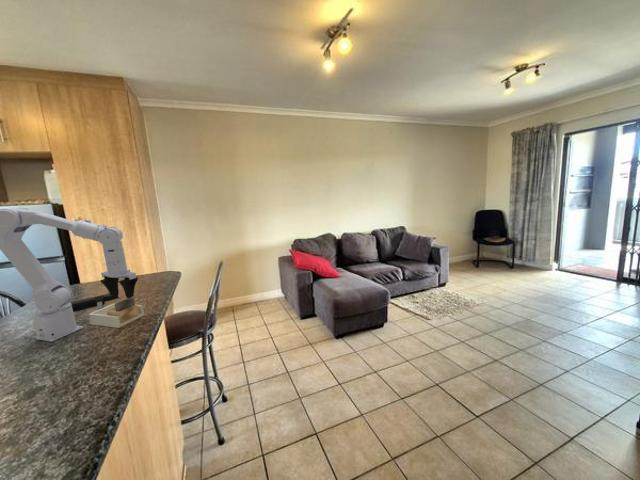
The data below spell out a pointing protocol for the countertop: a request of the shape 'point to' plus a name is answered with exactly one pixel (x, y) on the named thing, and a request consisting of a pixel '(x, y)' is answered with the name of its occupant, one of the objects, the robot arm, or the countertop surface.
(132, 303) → the tan block with handle
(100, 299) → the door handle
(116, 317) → the bay
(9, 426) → the countertop surface
